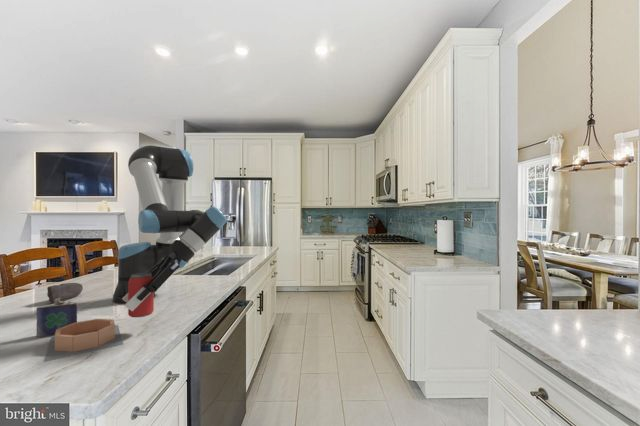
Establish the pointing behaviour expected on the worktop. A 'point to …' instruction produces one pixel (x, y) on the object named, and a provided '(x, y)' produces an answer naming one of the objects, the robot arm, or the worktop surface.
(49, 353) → the mat
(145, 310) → the beer can
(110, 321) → the dish
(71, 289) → the perforated stone tool
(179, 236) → the robot arm
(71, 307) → the flask
